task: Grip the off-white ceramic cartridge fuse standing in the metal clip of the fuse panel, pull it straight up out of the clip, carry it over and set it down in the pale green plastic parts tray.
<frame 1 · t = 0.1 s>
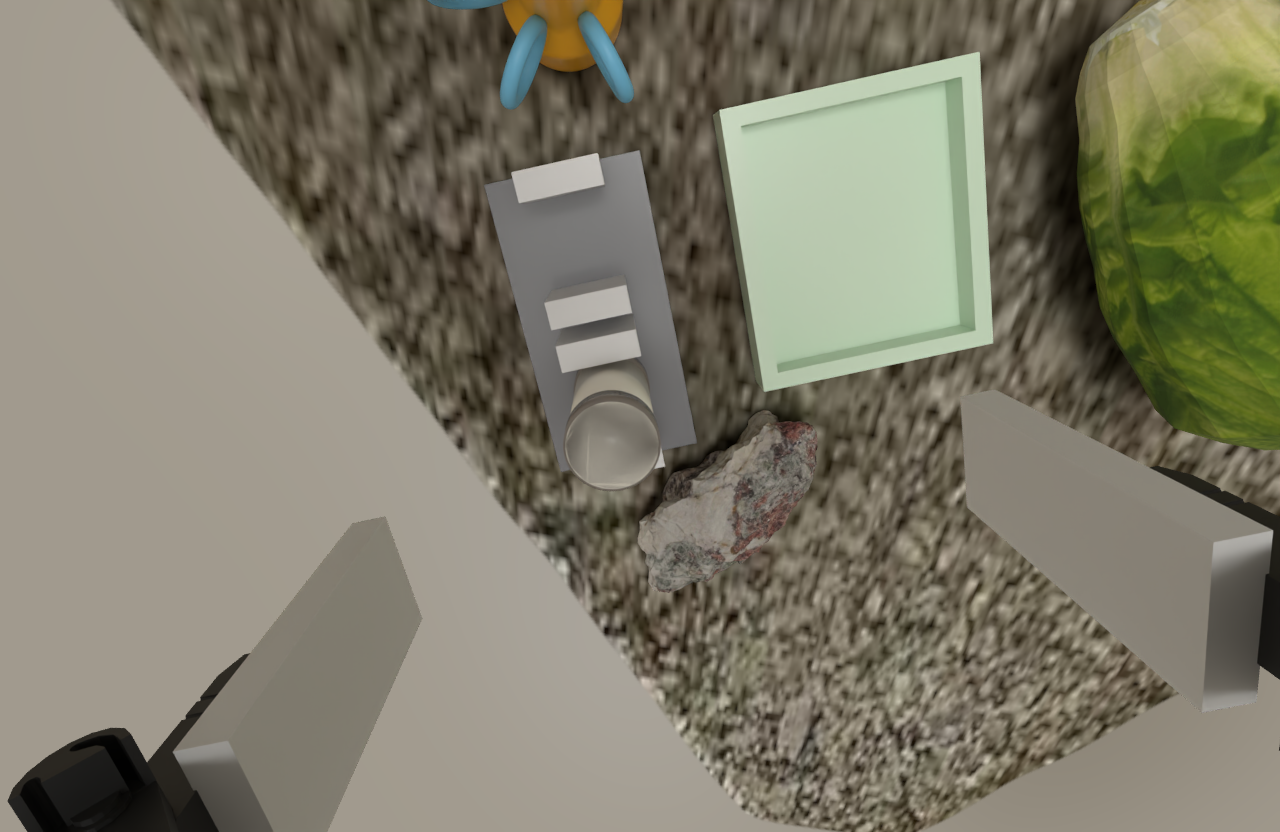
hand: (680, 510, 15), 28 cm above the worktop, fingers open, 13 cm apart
mineral rock: (720, 493, 46), on the worktop
orange and blue piece: (568, 13, 37), on the worktop
lettuce: (1149, 202, 41), on the worktop
fuse panel: (597, 320, 42), on the worktop
fuse: (611, 384, 42), point 1 cm above the worktop, touching fuse panel
tray: (849, 231, 41), on the worktop
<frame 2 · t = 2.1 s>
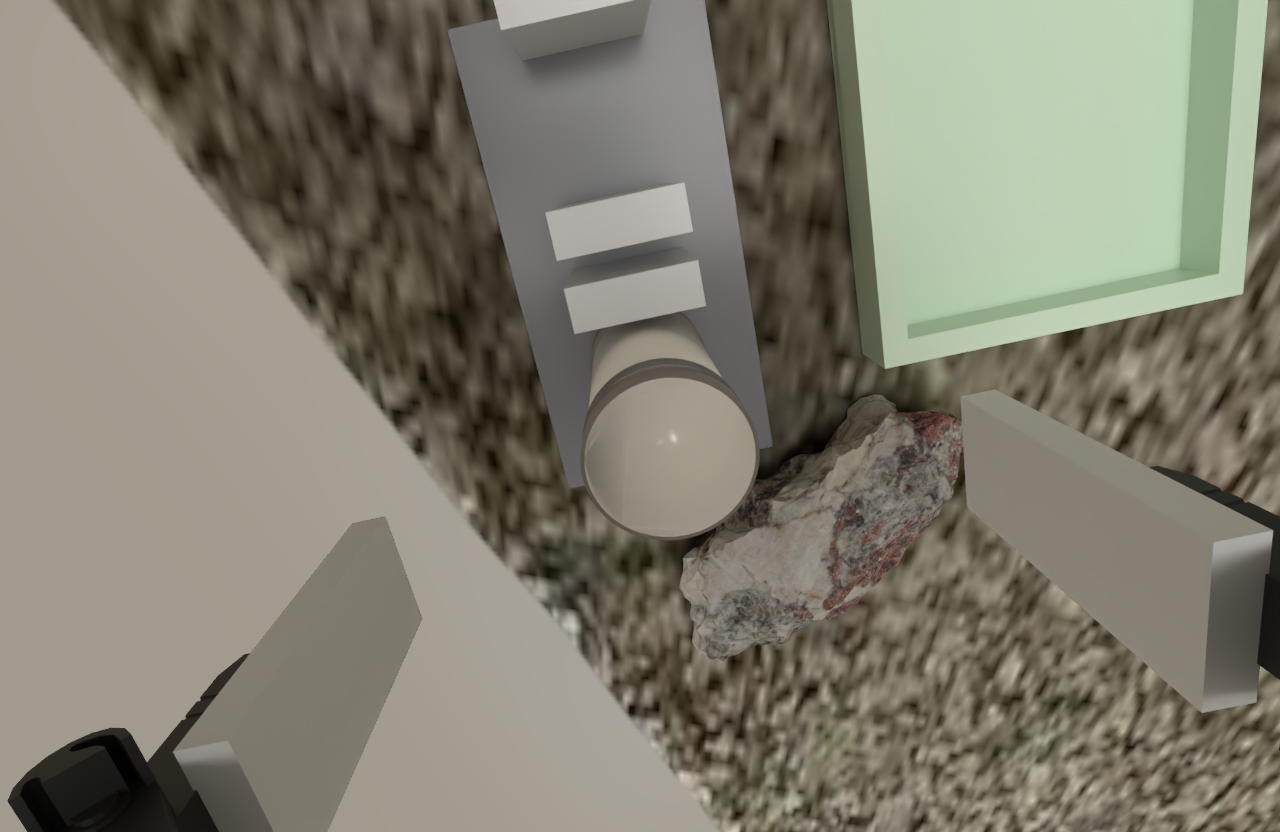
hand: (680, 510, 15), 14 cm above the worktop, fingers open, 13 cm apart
mineral rock: (798, 515, 32), on the worktop
fuse panel: (626, 257, 27), on the worktop
fuse: (647, 357, 28), point 1 cm above the worktop, touching fuse panel
tray: (1021, 118, 26), on the worktop
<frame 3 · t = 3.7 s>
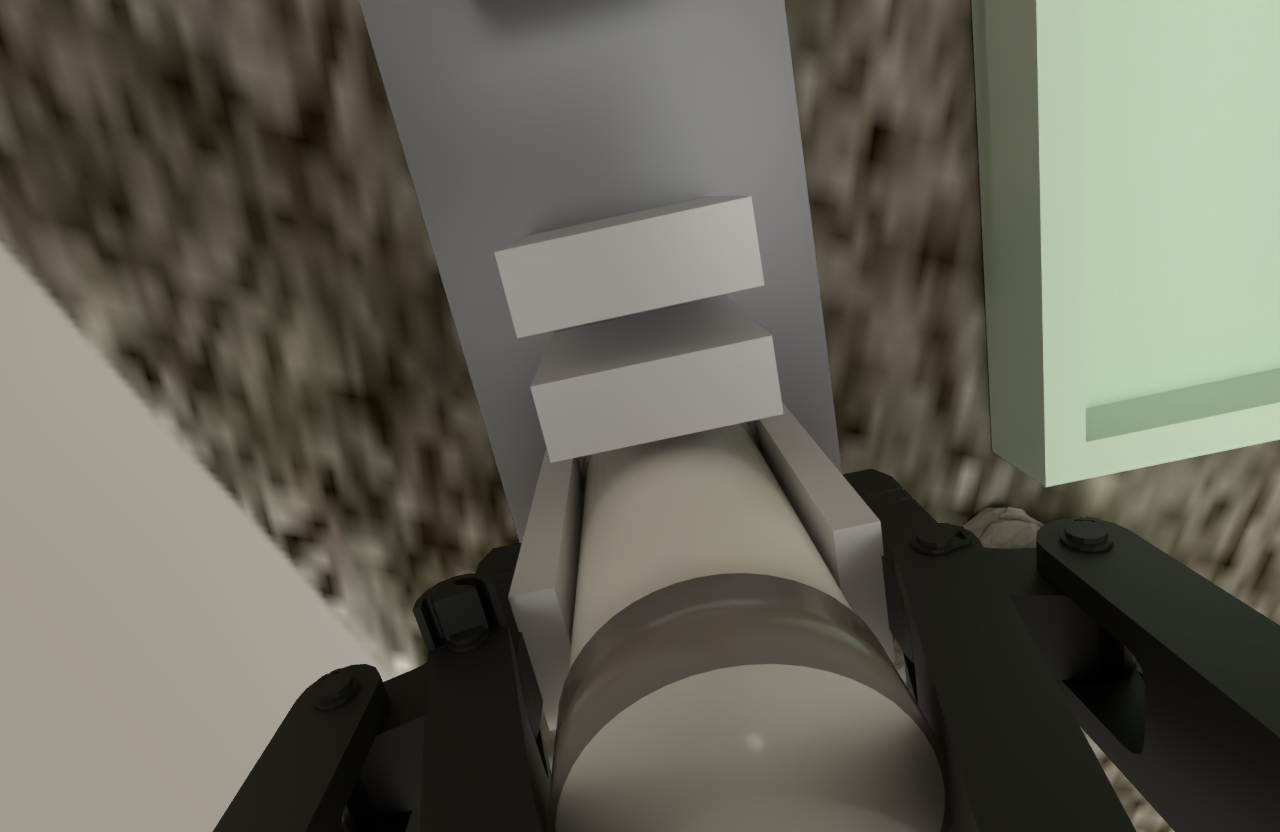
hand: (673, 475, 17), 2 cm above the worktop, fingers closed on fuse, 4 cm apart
mineral rock: (883, 669, 22), on the worktop
fuse panel: (638, 311, 18), on the worktop
fuse: (670, 462, 18), point 1 cm above the worktop, touching fuse panel, gripper
tray: (1262, 94, 17), on the worktop
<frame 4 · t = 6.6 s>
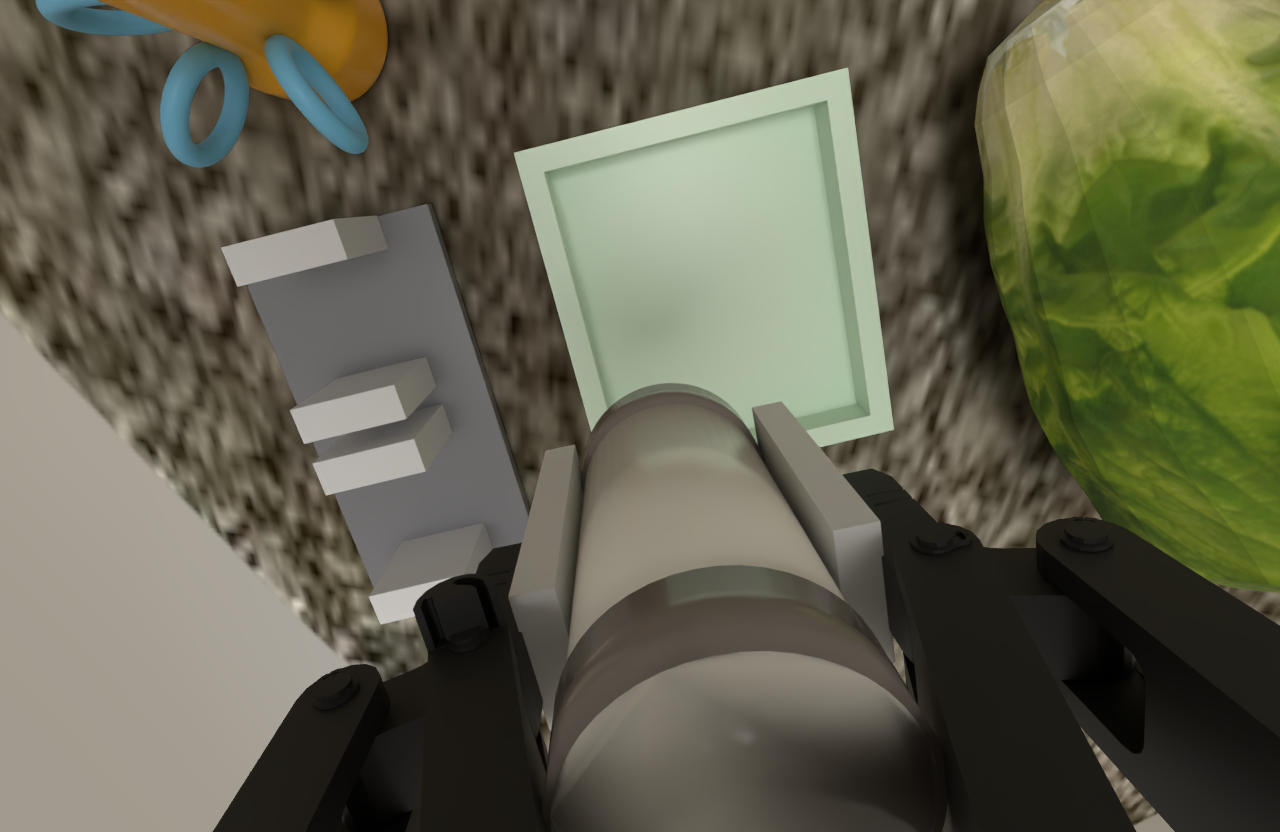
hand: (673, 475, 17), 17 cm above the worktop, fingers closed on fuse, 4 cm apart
orange and blue piece: (321, 32, 29), on the worktop
lettuce: (1087, 246, 33), on the worktop
fuse panel: (403, 410, 34), on the worktop
fuse: (669, 466, 18), point 16 cm above the worktop, touching gripper
tray: (710, 293, 33), on the worktop
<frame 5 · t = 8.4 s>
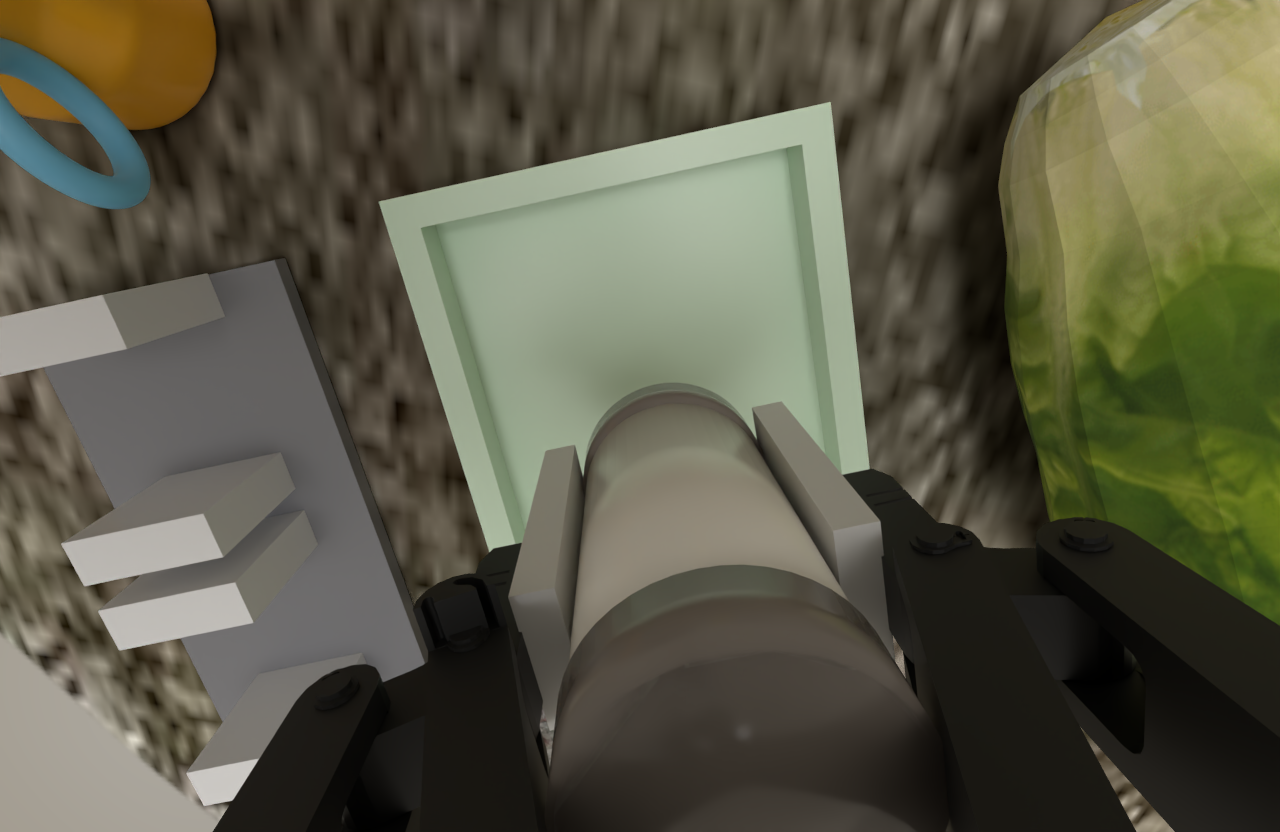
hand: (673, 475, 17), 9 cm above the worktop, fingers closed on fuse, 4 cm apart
mineral rock: (483, 731, 31), on the worktop
orange and blue piece: (127, 30, 21), on the worktop
lettuce: (1130, 332, 26), on the worktop
fuse panel: (258, 513, 26), on the worktop
fuse: (671, 466, 18), point 8 cm above the worktop, touching gripper
tray: (650, 379, 25), on the worktop
when the fingers open (3 cm above the worktop, at t = 9.8 s): fuse drops 1 cm, resting on tray.
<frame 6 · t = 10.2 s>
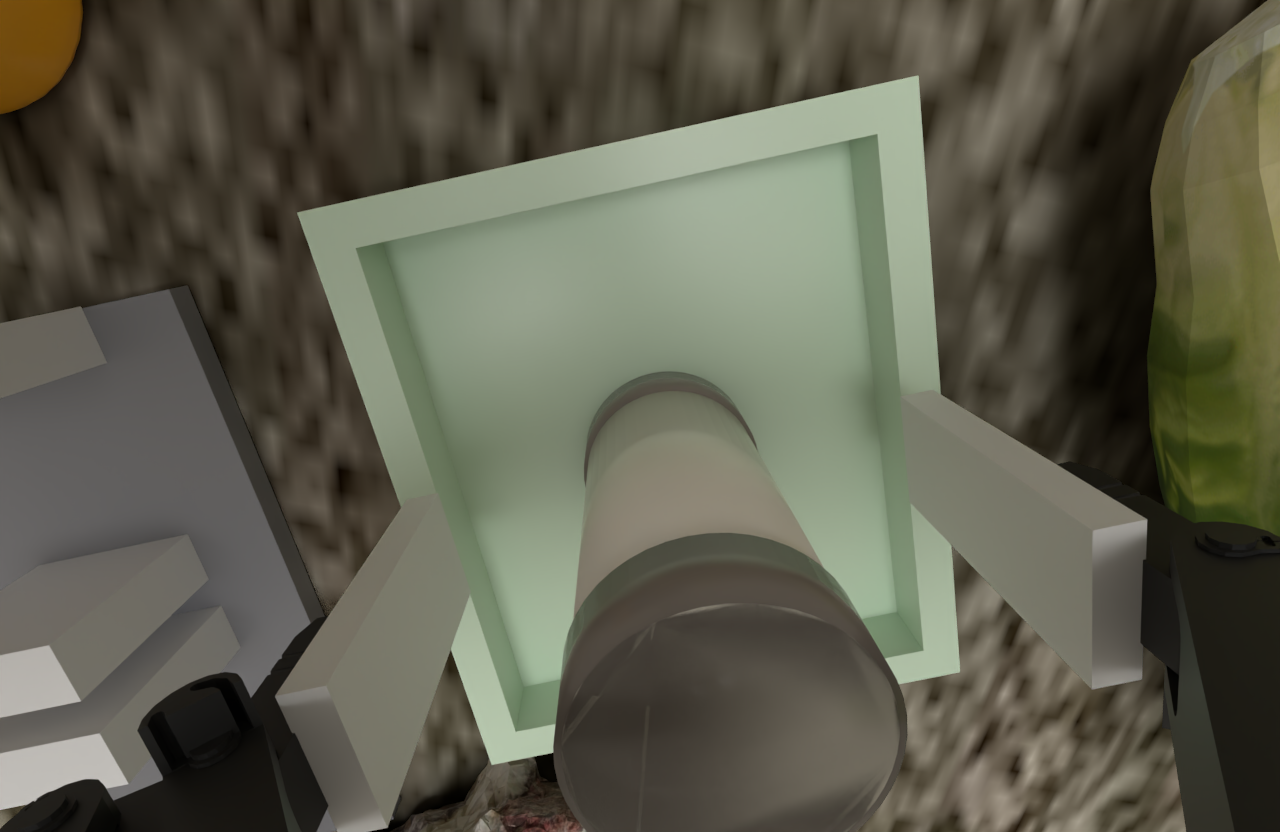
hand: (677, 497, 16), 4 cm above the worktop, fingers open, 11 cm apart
lettuce: (1279, 378, 20), on the worktop
fuse panel: (166, 606, 21), on the worktop
fuse: (667, 450, 19), point 1 cm above the worktop, touching tray
tray: (665, 439, 20), on the worktop
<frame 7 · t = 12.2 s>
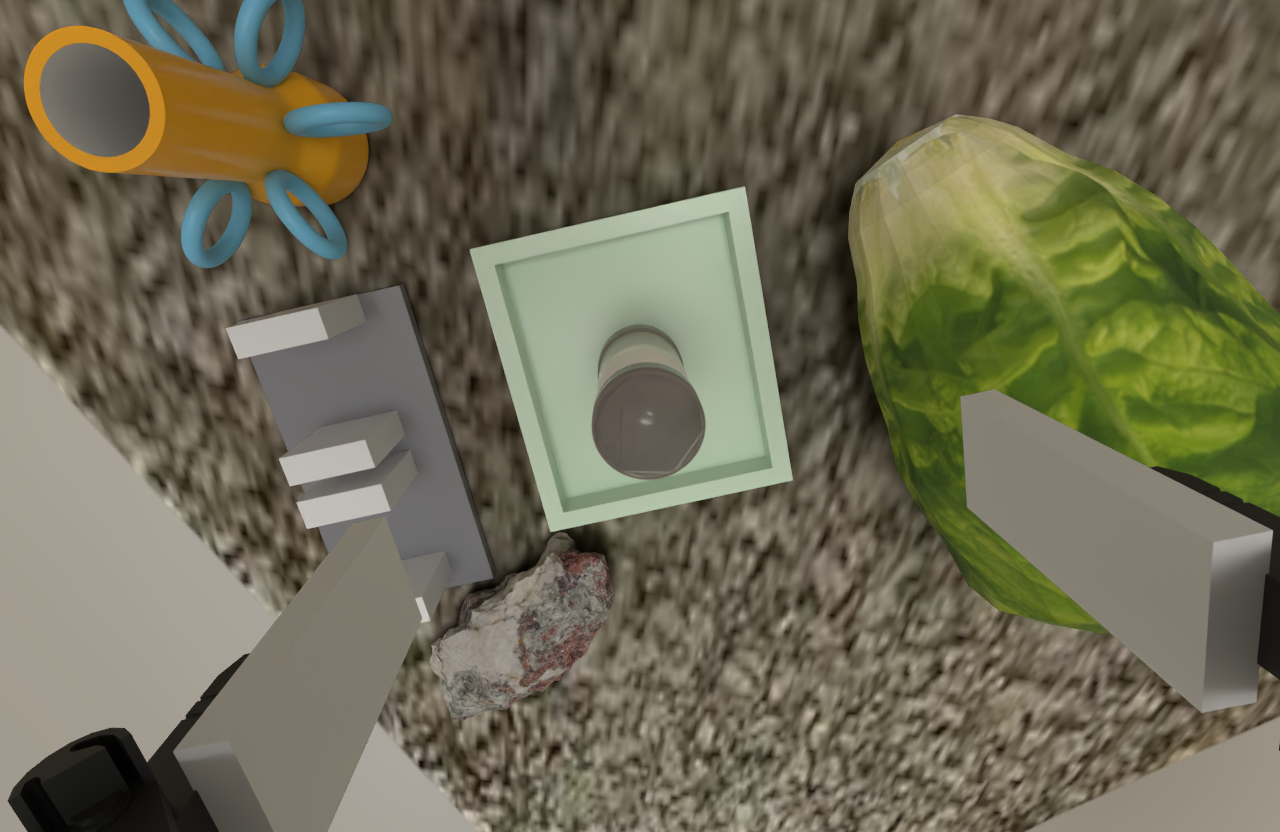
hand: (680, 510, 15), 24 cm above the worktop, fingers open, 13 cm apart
mineral rock: (525, 613, 43), on the worktop
orange and blue piece: (314, 145, 35), on the worktop
lettuce: (961, 327, 39), on the worktop
fuse panel: (378, 453, 40), on the worktop
fuse: (639, 365, 38), point 1 cm above the worktop, touching tray
tray: (639, 361, 38), on the worktop
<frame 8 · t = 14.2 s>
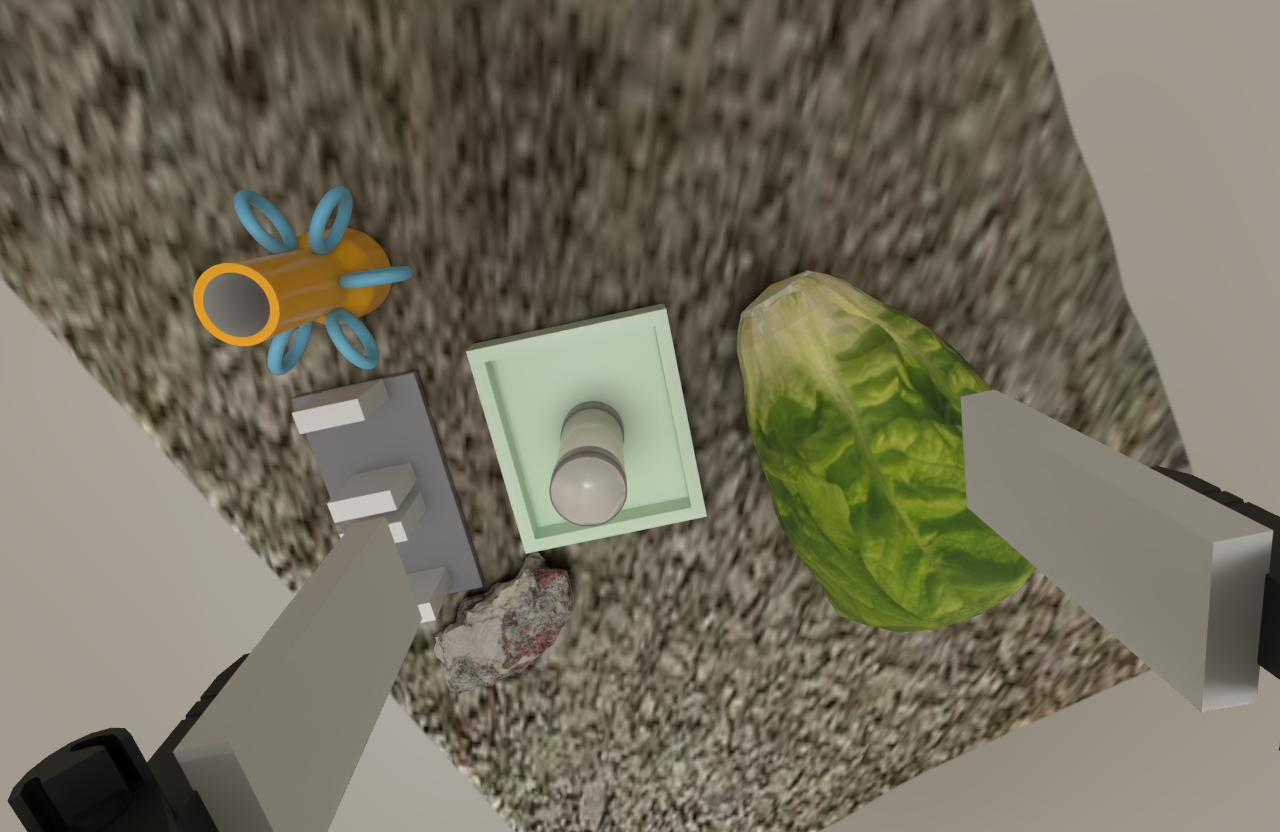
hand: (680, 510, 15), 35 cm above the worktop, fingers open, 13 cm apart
mineral rock: (508, 612, 56), on the worktop
orange and blue piece: (351, 272, 47), on the worktop
lettuce: (834, 402, 52), on the worktop
fuse panel: (395, 493, 52), on the worktop
fuse: (593, 430, 51), point 1 cm above the worktop, touching tray
tray: (592, 426, 51), on the worktop
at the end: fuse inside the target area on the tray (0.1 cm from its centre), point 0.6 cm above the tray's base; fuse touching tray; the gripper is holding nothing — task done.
